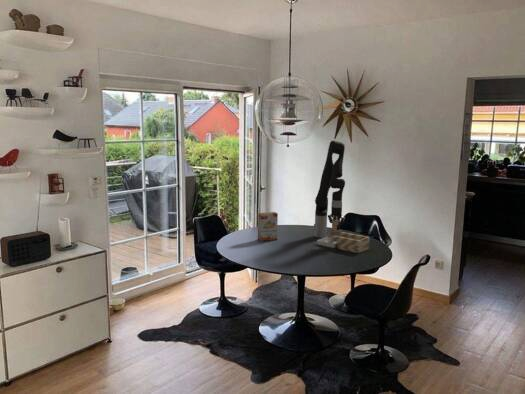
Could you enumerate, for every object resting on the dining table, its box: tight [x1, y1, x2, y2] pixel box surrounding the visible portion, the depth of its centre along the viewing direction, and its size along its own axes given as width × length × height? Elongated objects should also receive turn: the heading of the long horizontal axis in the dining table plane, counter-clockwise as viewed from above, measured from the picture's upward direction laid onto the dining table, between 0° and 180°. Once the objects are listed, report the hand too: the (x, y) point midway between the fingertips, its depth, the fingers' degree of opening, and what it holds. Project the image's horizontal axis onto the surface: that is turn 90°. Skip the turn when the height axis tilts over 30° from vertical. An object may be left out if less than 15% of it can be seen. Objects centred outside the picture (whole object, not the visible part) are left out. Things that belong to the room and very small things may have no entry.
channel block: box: [331, 231, 371, 254], centre depth 321 cm, size 22×15×8 cm
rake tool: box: [329, 220, 341, 236], centre depth 327 cm, size 4×8×10 cm, turn 141°
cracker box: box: [257, 211, 279, 242], centre depth 339 cm, size 14×6×21 cm, turn 112°
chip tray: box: [316, 236, 338, 249], centre depth 331 cm, size 15×16×3 cm
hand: (335, 229), depth 327 cm, fingers closed on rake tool, 3 cm apart
